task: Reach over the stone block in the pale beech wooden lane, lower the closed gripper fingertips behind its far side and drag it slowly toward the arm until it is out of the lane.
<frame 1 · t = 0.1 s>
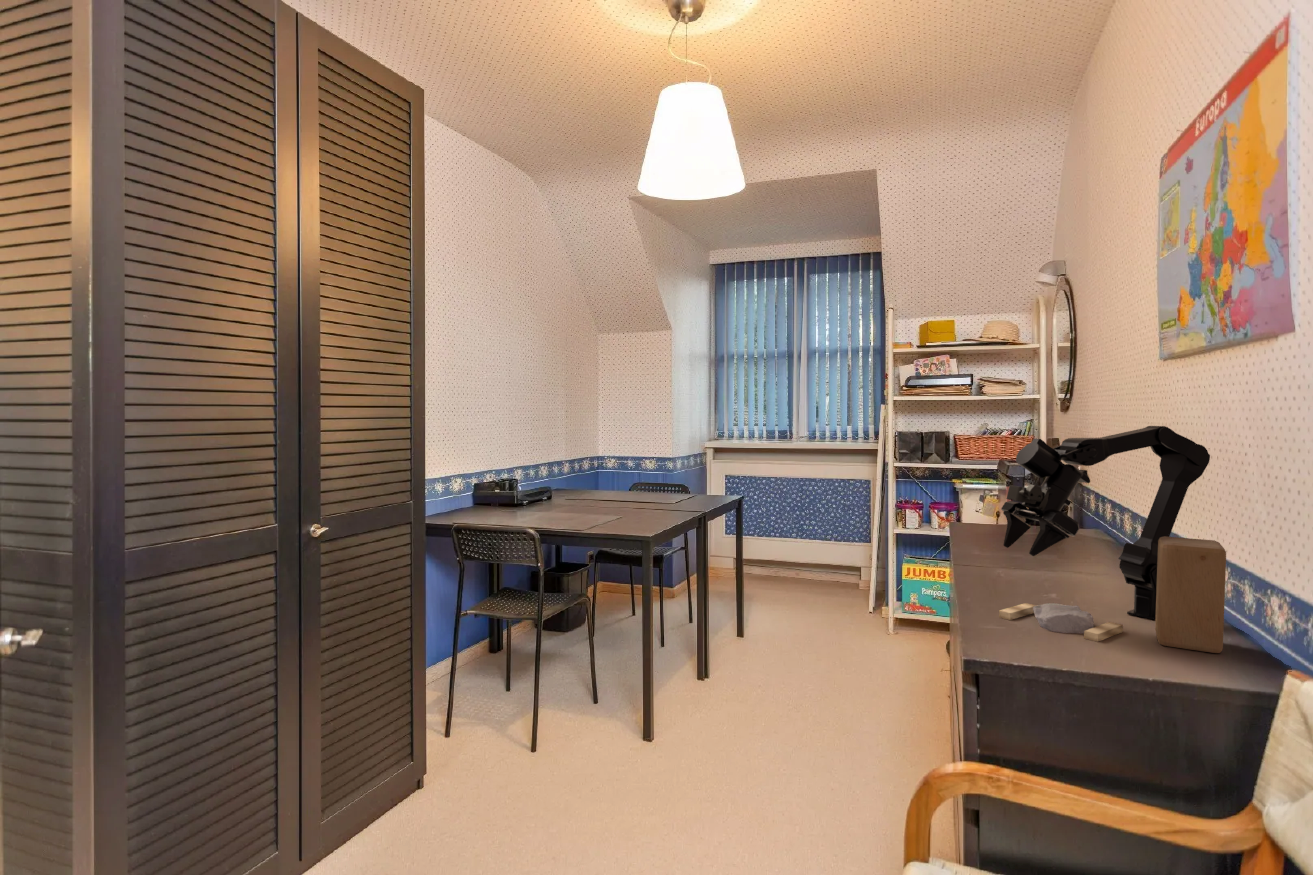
hand: (1017, 550, 156), 15 cm above the table, tool tilted 35°, fingers open, 9 cm apart
stone block: (1059, 626, 153), on the table
wooden block: (1187, 644, 141), on the table
beech lane: (1058, 624, 153), on the table
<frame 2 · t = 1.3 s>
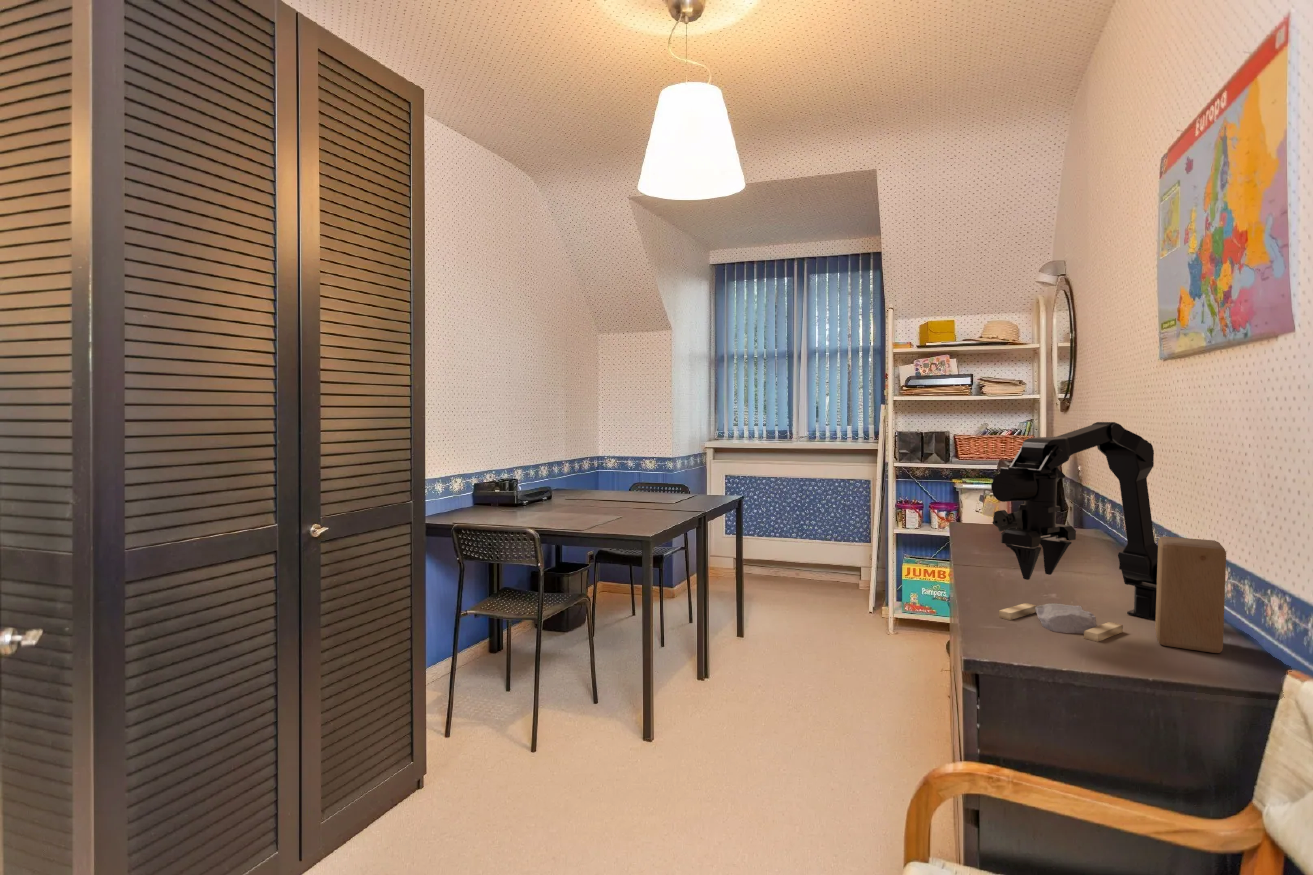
hand: (1037, 576, 147), 11 cm above the table, tool pointing down, fingers open, 8 cm apart
nothing on the table moved.
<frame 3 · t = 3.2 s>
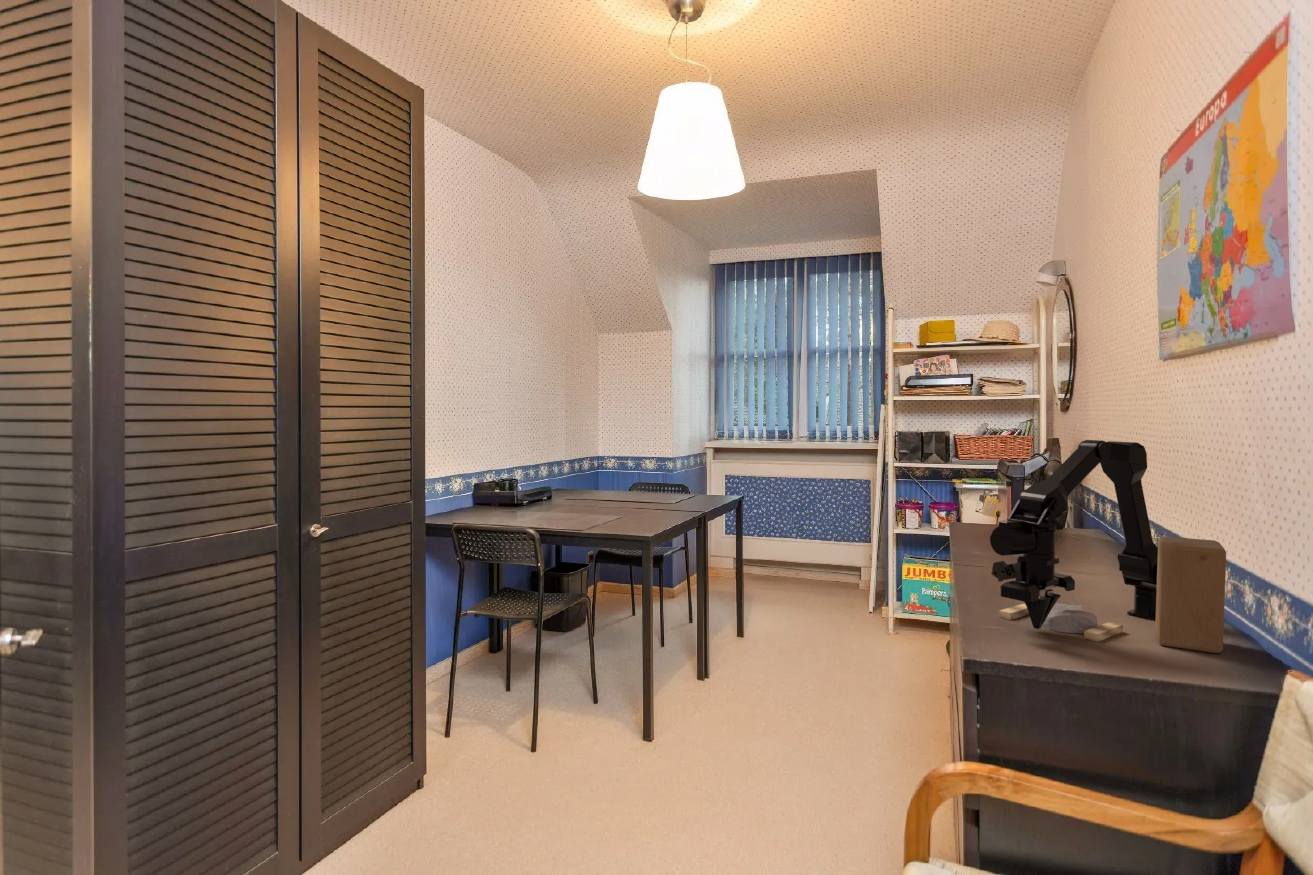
hand: (1036, 628, 148), 1 cm above the table, tool pointing down, fingers closed
nothing on the table moved.
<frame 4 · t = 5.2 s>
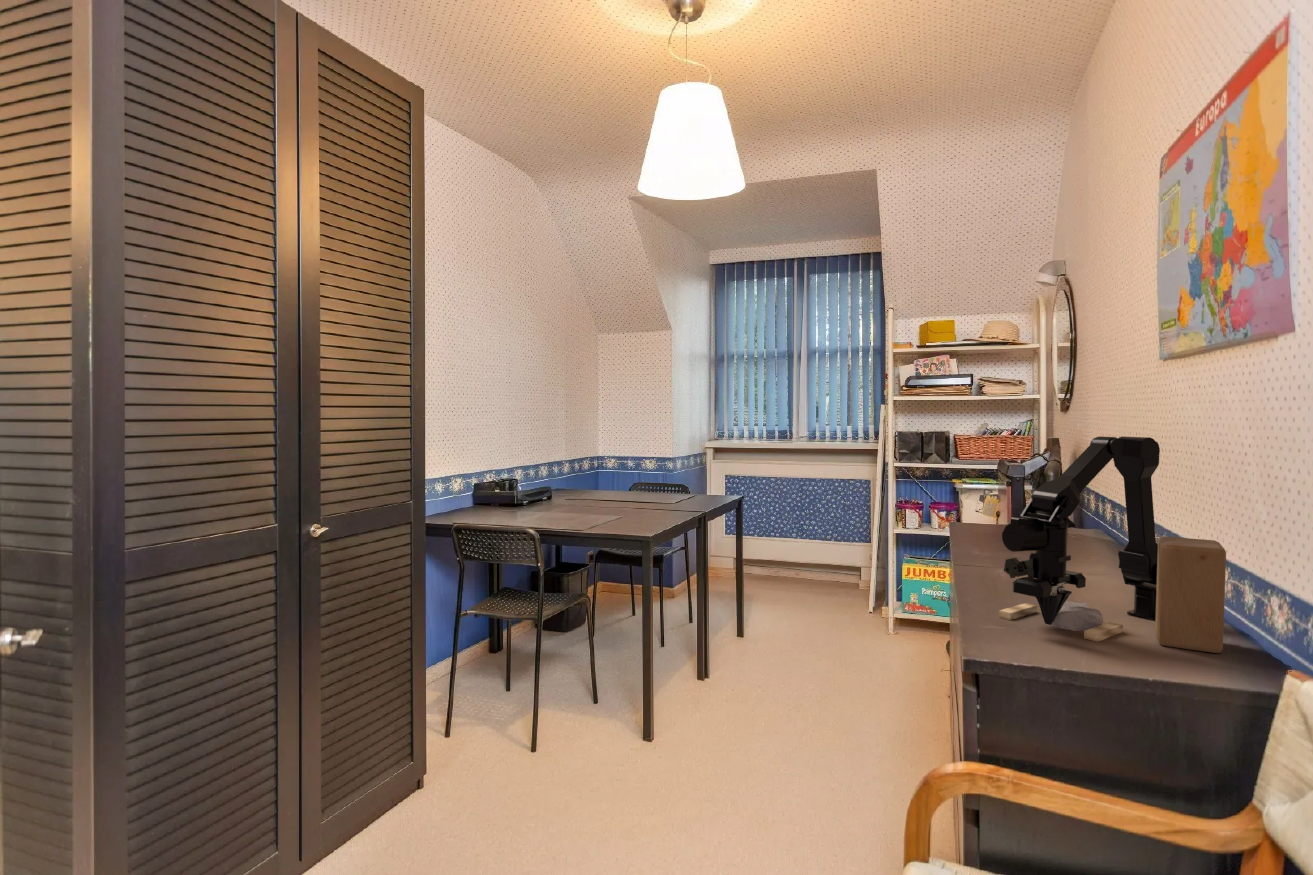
hand: (1048, 624, 150), 1 cm above the table, tool pointing down, fingers closed
stone block: (1068, 624, 154), on the table, touching gripper
everything else where it was.
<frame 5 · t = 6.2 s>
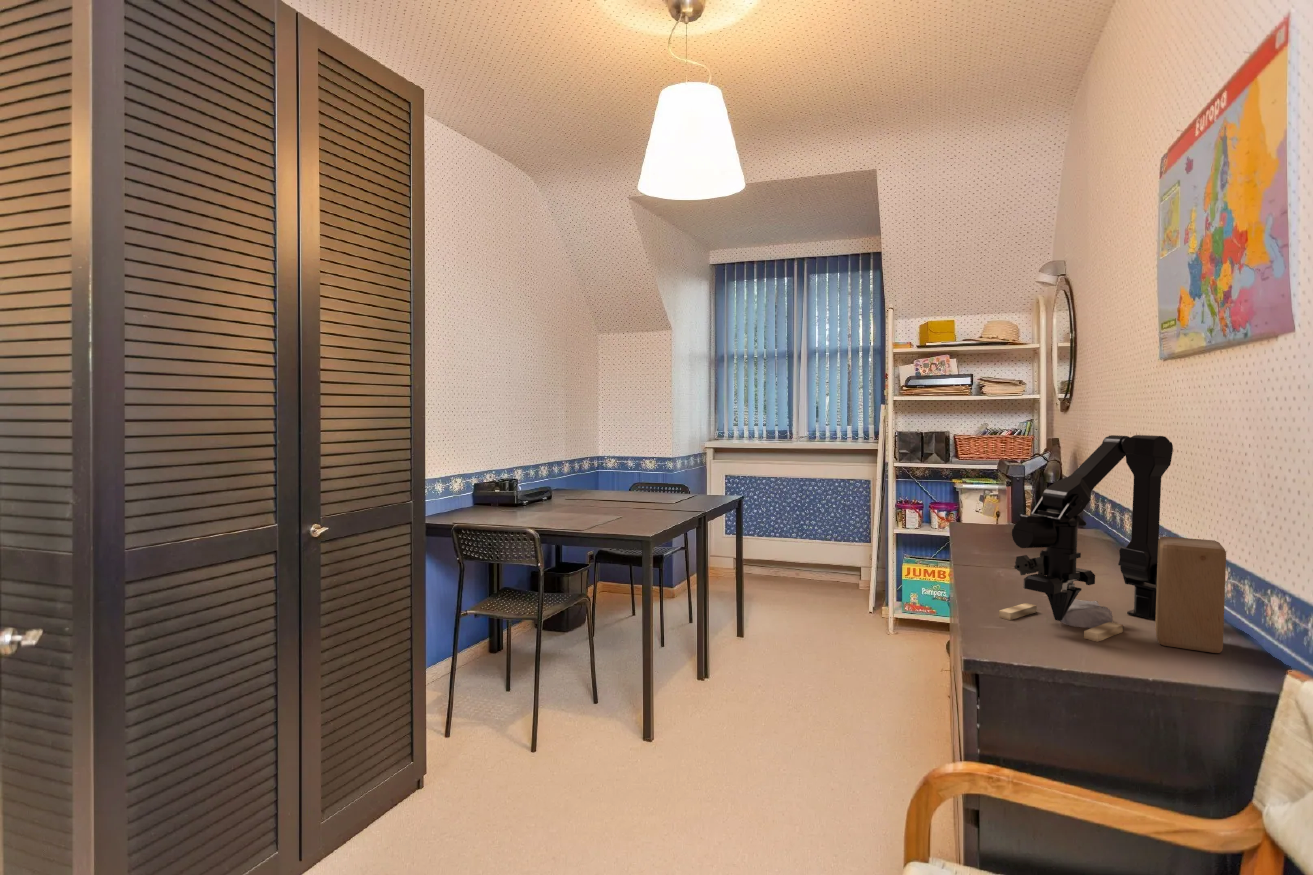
hand: (1058, 620, 153), 1 cm above the table, tool pointing down, fingers closed
stone block: (1078, 621, 157), on the table, touching gripper
everything else where it was.
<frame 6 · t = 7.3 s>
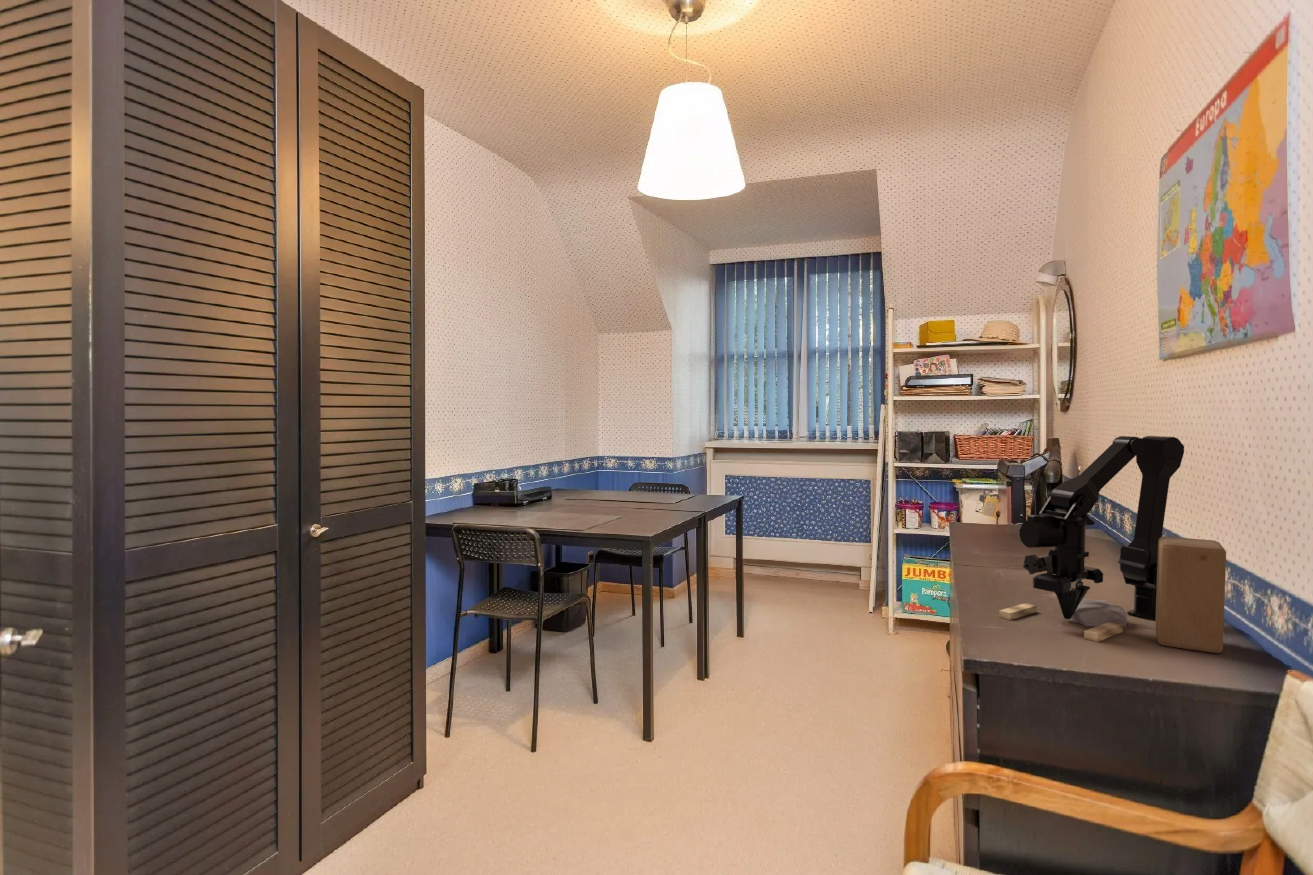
hand: (1067, 618, 155), 1 cm above the table, tool pointing down, fingers closed
stone block: (1090, 621, 157), on the table
everything else where it was.
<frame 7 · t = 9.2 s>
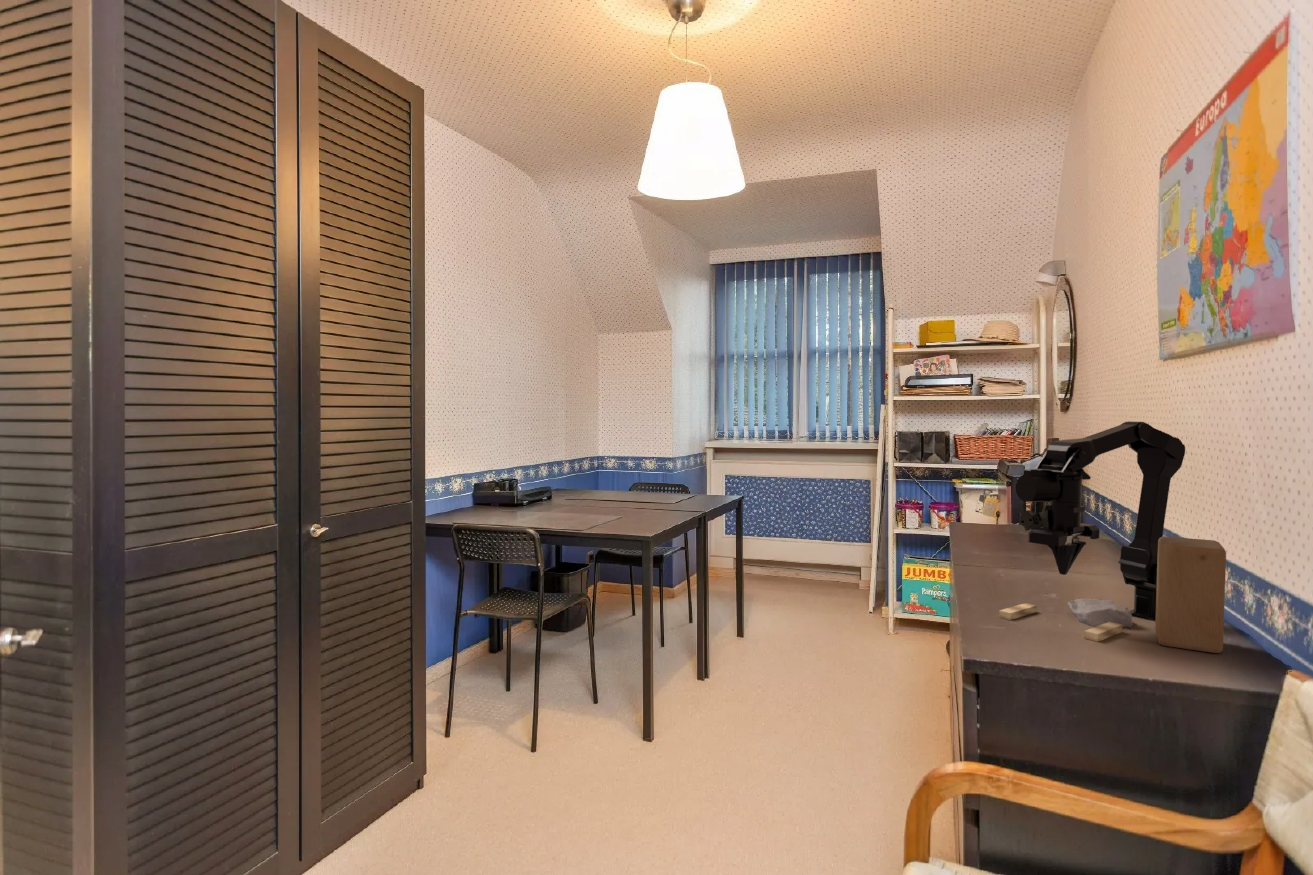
hand: (1063, 574, 153), 10 cm above the table, tool pointing down, fingers closed
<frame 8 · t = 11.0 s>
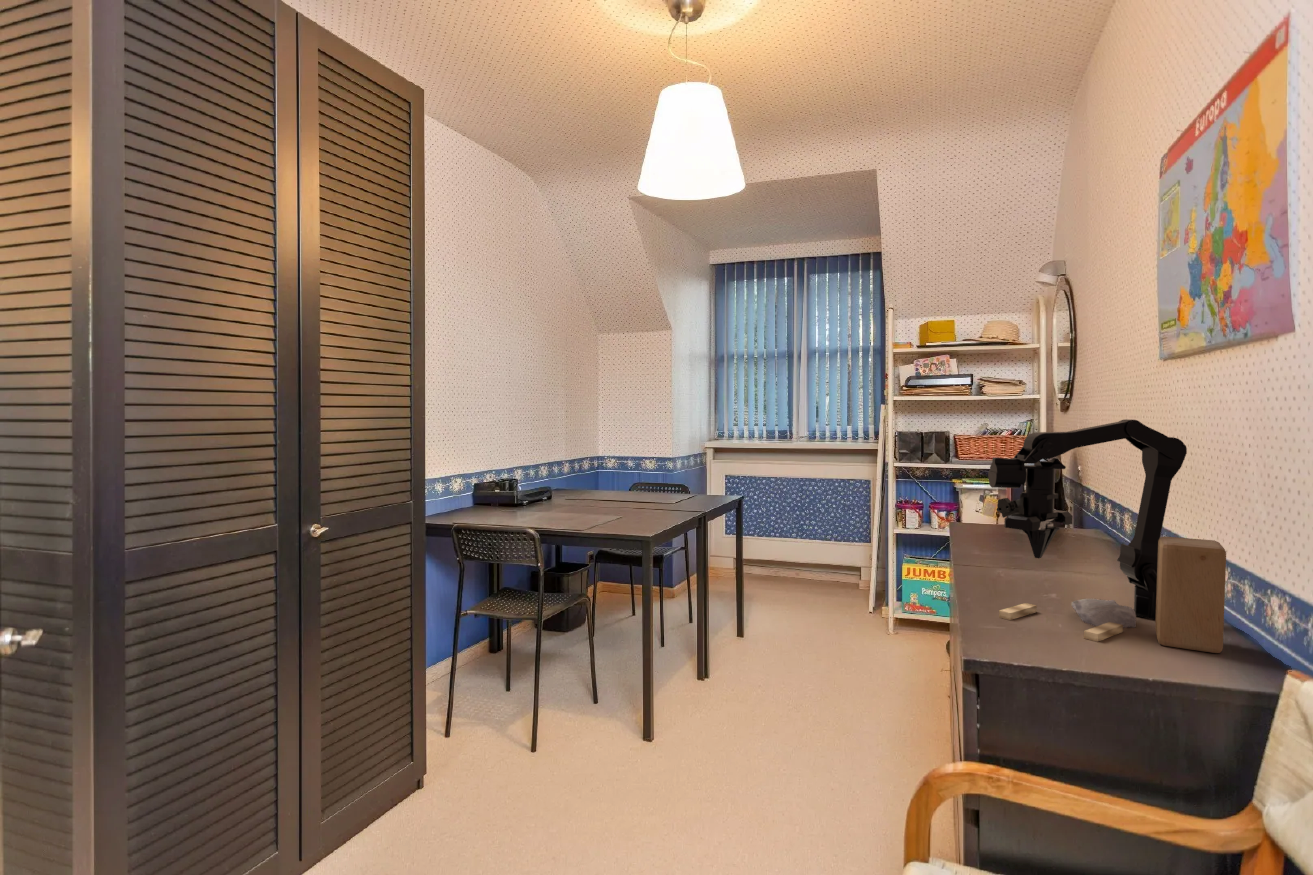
hand: (1037, 557, 163), 12 cm above the table, tool pointing down, fingers closed
at the end: stone block inside the target area (4.2 cm from its centre), on the table; stone block tilted 0°; stone block moved 12.0 cm from its start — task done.
